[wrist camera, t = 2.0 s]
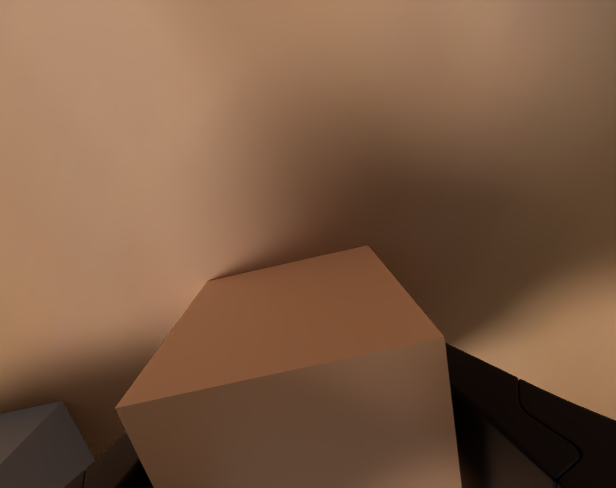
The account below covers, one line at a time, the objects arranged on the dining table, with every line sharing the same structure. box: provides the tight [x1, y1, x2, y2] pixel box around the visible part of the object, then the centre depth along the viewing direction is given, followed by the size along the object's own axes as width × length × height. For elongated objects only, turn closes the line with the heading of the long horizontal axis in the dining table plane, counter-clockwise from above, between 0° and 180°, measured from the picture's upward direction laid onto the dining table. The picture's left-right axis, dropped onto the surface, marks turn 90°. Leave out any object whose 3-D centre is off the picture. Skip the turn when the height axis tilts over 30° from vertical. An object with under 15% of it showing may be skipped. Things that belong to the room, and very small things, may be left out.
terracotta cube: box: [115, 245, 462, 488], centre depth 8 cm, size 5×5×5 cm
